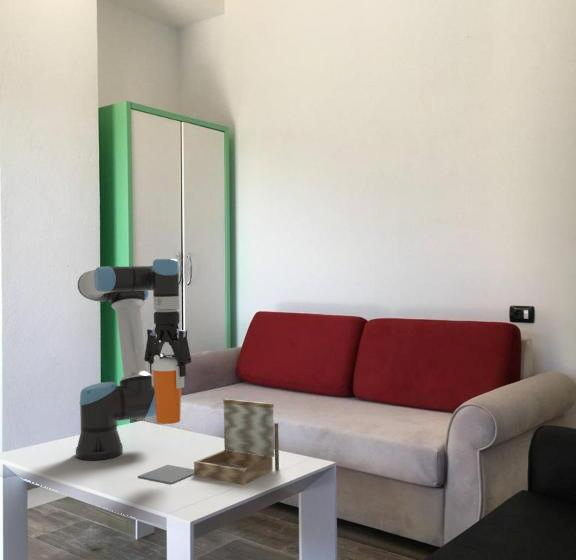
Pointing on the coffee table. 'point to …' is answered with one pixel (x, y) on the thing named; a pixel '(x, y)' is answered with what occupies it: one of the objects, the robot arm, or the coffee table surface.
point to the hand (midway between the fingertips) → (167, 386)
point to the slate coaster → (168, 474)
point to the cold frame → (243, 443)
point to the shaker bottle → (166, 389)
